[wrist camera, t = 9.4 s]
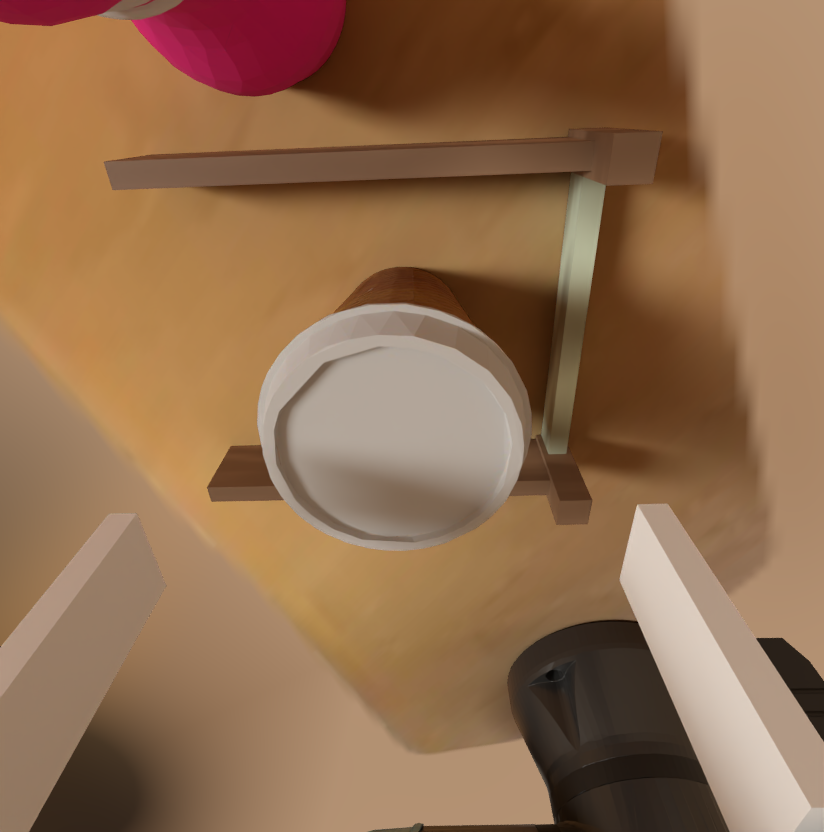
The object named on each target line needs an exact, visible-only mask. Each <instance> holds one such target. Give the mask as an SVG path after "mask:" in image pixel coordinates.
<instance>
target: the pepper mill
mask: <svg viewBox="0 0 824 832" xmlns="http://www.w3.org/2000/svg"><path fill="white" fill-rule="evenodd" d="M345 12H346V0H0V21H1V22H5V23H9V24H23V25H42V26H53V25H57V24H62V23H66V22H70V21H74V20H78V19H82V18H86V17H90V16H95V15H98V16H101V17H106V18H113V19H122V20H132V22H133V23H134V25H135V26H136V27H137V29H138V30H139V32H140V33H141V34H142V35H143V36H144V37H145V38H146V39H147V40H148V41H149V43H150V44H151V45H152V46H153V47H154V48H155V49H156V50H157V51H158V52H160V53H161V54H162V55H163V56H164V57H165V58H166V59H167V60H168V61H169V62H170V63H171V64H172V65H173V66H174V67H175V68H177V69H179V70H180V71H182V72H183V73H185V74H187V75H188V76H190V77H191V78H193V79H194V80H196V81H199V82H201V83H203V84H206V85H208V86H210V87H213V88H215V89H218V90H220V91H223V92H227V93H231V94H234V95H239V96H262V95H270V94H273V93H276V92H279V91H282V90H285V89H287V88H289V87H291V86H293V85H294V84H296V83H297V82H299V81H302V80H304V79H306V78H307V77H309V76H311V75H312V74H313V73H315V72H316V71H317V70H318V69H319V68H320V67H321V66H322V65H323V64H324V63H325V62H326V61H327V59H328V58H329V57H330V55H331V53H332V52H333V50H334V48H335V47H336V44H337V42H338V39H339V37H340V34H341V31H342V28H343V23H344V17H345Z"/></svg>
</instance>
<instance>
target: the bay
mask: <svg viewBox="0 0 824 832" xmlns="http://www.w3.org/2000/svg"><path fill="white" fill-rule="evenodd" d="M662 133H663V131H649V130H634V129H619V128H585V129H569V134H568V137H557V138H534V139H510V140H487V141H463V142H440V143H416V144H392V145H369V146H345V147H322V148H298V149H275V150H251V151H228V152H204V153H181V154H157V155H146V156H140V157H133V158H126V159H119V160H112V161H106V162H104V164H105V167H106V170H107V174H108V177H109V180H110V183H111V186H112V189H113V190H127V189H152V188H177V187H202V186H226V185H251V184H276V183H301V182H326V181H351V180H375V179H400V178H425V177H450V176H475V175H500V174H524V173H549V172H571V177H570V185H569V194H568V203H567V212H566V221H565V230H564V238H563V247H562V256H561V265H560V274H559V283H558V291H557V300H556V309H555V318H554V327H553V336H552V344H551V353H550V362H549V371H548V380H547V389H546V397H545V406H544V415H543V424H542V433H541V435H536V439H530V444H529V448H528V453H527V456H526V458H525V460H524V463H523V465H522V468H521V470H520V473H519V476H518V480H517V482H516V483H515V485H514V487H513V489H512V491H511V492H510V494H509V496H524V495H547V498H548V501H549V504H550V507H551V510H552V513H553V516H554V519H555V522H556V525H570V524H588V520H589V515H590V510H591V505H592V498H591V496H590V494H589V492H588V489H587V487H586V485H585V483H584V480H583V478H582V476H581V474H580V471H579V469H578V467H577V465H576V462H575V460H574V458H573V456H572V453H571V451H570V449H569V447H568V439H569V432H570V425H571V418H572V412H573V405H574V398H575V391H576V385H577V378H578V371H579V364H580V357H581V351H582V344H583V337H584V330H585V323H586V317H587V310H588V303H589V296H590V289H591V283H592V276H593V269H594V262H595V256H596V249H597V242H598V235H599V228H600V222H601V215H602V208H603V201H604V194H605V188H606V186H611V185H637V184H653V180H654V175H655V170H656V165H657V159H658V154H659V149H660V144H661V138H662ZM207 489H208V492H209V495H210V498H211V501H212V502H214V501H266V500H284V499H283V498H282V497H281V495H280V494H279V492H278V490H277V489H276V487H275V485H274V484H273V482H272V480H271V478H270V475H269V472H268V469H267V466H266V463H265V460H264V457H263V448H262V446H231V447H230V449H229V450H228V452H227V454H226V455H225V457H224V459H223V461H222V462H221V464H220V466H219V468H218V469H217V471H216V473H215V475H214V476H213V478H212V480H211V482H210V483H209V485H208V487H207Z"/></svg>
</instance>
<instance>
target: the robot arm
mask: <svg viewBox="0 0 824 832" xmlns="http://www.w3.org/2000/svg"><path fill="white" fill-rule="evenodd" d="M619 580H620V582H621V585H622V587H623V589H624V591H625V594H626V596H627V598H628V601H629V603H630V605H631V607H632V610H633V612H634V614H635V617H636V619H637V621H638V623H639V624H637V623H630V622H597V623H589V624H583V625H579V626H574V627H571V628H567V629H564V630H561V631H558V632H556V633H553V634H551V635H549V636H547V637H545V638H543V639H541V640H539V641H537V642H536V643H534V644H533V645H531V646H530V647H529V648H527V649H526V650H525V651H524V652H523V653H522V654H521V655H520V656H519V657H518V658H517V660H516V661H515V662H514V664H513V666H512V667H511V670H510V672H509V675H508V691H509V698H510V704H511V710H512V714H513V717H514V719H515V722H516V724H517V726H518V728H519V730H520V732H521V734H522V736H523V738H524V741H525V743H526V745H527V746H528V749H529V751H530V753H531V755H532V757H533V759H534V761H535V763H536V766H537V768H538V770H539V772H540V774H541V776H542V778H543V780H544V782H545V784H546V786H547V789H548V793H549V798H550V803H551V808H552V813H553V818H554V824H546V825H534V824H524V825H469V826H468V825H463V826H424V825H423V824H421V823H417V824H415V825H414V826H413V827H407V828H394V829H382V830H373V831H369V832H824V681H823V679H822V678H821V676H820V675H819V674H818V672H817V671H816V670H815V668H814V667H813V665H812V664H811V663H810V661H809V660H807V659H806V658H805V657H804V656H803V655H802V654H800V653H799V652H798V651H797V650H795V649H794V648H793V647H792V646H791V645H790V644H789V643H787V642H786V641H785V640H784V639H783V638H755V636H754V635H753V633H752V632H751V630H750V629H749V627H748V626H747V624H746V623H745V621H744V619H743V618H742V616H741V615H740V613H739V612H738V610H737V609H736V607H735V606H734V604H733V603H732V601H731V600H730V598H729V597H728V595H727V594H726V592H725V590H724V589H723V587H722V586H721V584H720V583H719V581H718V580H717V578H716V577H715V575H714V574H713V572H712V571H711V569H710V568H709V566H708V565H707V563H706V561H705V560H704V558H703V557H702V555H701V554H700V552H699V551H698V549H697V548H696V546H695V545H694V543H693V542H692V540H691V539H690V537H689V536H688V534H687V532H686V531H685V529H684V528H683V526H682V525H681V523H680V522H679V520H678V519H677V517H676V516H675V514H674V513H673V511H672V510H671V508H670V507H669V505H668V504H637V508H636V512H635V517H634V521H633V525H632V529H631V533H630V537H629V542H628V546H627V550H626V554H625V558H624V563H623V567H622V571H621V575H620V579H619ZM165 587H166V584H165V582H164V579H163V576H162V574H161V571H160V569H159V566H158V564H157V561H156V559H155V557H154V554H153V552H152V549H151V547H150V544H149V542H148V539H147V537H146V534H145V532H144V529H143V527H142V525H141V522H140V519H139V517H138V514H137V513H125V514H108V516H107V517H106V518H105V519H104V521H103V522H102V523H101V524H100V525H99V527H98V528H97V529H96V530H95V532H94V533H93V534H92V536H91V537H90V538H89V539H88V540H87V541H86V543H85V544H84V545H83V546H82V548H81V549H80V550H79V551H78V553H77V554H76V555H75V556H74V557H73V559H72V560H71V561H70V563H69V564H68V565H67V566H66V567H65V569H64V570H63V571H62V572H61V573H60V575H59V576H58V577H57V578H56V580H55V581H54V582H53V583H52V585H51V586H50V587H49V588H48V590H47V591H46V592H45V593H44V594H43V596H42V597H41V598H40V599H39V600H38V602H37V603H36V604H35V606H34V607H33V608H32V609H31V610H30V612H29V613H28V614H27V615H26V617H25V618H24V619H23V620H22V622H21V623H20V624H19V625H18V627H17V628H16V629H15V630H14V631H13V632H12V634H11V635H10V636H9V637H8V639H7V640H6V641H5V642H4V644H3V645H2V646H0V832H29V830H30V828H31V827H32V825H33V823H34V821H35V820H36V818H37V816H38V814H39V812H40V810H41V809H42V807H43V805H44V803H45V802H46V799H47V798H48V796H49V794H50V793H51V791H52V789H53V787H54V785H55V784H56V782H57V780H58V778H59V776H60V775H61V773H62V771H63V769H64V768H65V766H66V764H67V762H68V760H69V759H70V757H71V755H72V753H73V752H74V750H75V748H76V746H77V744H78V743H79V741H80V739H81V737H82V735H83V734H84V732H85V730H86V728H87V726H88V724H89V723H90V721H91V719H92V717H93V716H94V714H95V712H96V710H97V709H98V707H99V705H100V703H101V701H102V699H103V698H104V696H105V694H106V692H107V691H108V689H109V687H110V685H111V684H112V681H113V680H114V678H115V676H116V675H117V673H118V671H119V669H120V667H121V666H122V664H123V662H124V660H125V659H126V657H127V655H128V653H129V651H130V650H131V648H132V646H133V644H134V642H135V641H136V639H137V637H138V635H139V633H140V632H141V630H142V628H143V626H144V625H145V623H146V621H147V619H148V617H149V616H150V614H151V612H152V610H153V608H154V607H155V605H156V603H157V601H158V600H159V598H160V596H161V594H162V592H163V591H164V589H165Z"/></svg>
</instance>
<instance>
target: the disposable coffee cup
mask: <svg viewBox="0 0 824 832" xmlns="http://www.w3.org/2000/svg"><path fill="white" fill-rule="evenodd" d="M257 426H258V431H259V436H260V441H261V446H262V448H263V457H264V460H265V463H266V466H267V469H268V472H269V475H270V478H271V480H272V482H273V484H274V485H275V487H276V489H277V490H278V492H279V494H280V495H281V497H282V498H283V499H284V500H285V501H286V503H287V504H288V505H289V506H290V507H291V508H292V509H293V510H294V511H295V512H296V513H297V514H298V515H299V516H300V517H301V518H303V519H304V520H305V521H307V522H308V523H309V524H311V525H312V526H313V527H315V528H317V529H318V530H320V531H322V532H324V533H325V534H327V535H330V536H332V537H334V538H337V539H339V540H342V541H344V542H347V543H349V544H354V545H358V546H362V547H366V548H370V549H379V550H398V551H406V550H415V549H423V548H427V547H432V546H436V545H440V544H444V543H446V542H448V541H451V540H453V539H455V538H457V537H459V536H461V535H463V534H465V533H467V532H469V531H472V530H474V529H476V528H477V527H479V526H480V525H481V524H482V523H484V522H485V521H486V520H488V519H489V518H490V517H491V516H492V515H493V514H494V513H495V512H496V511H497V510H498V509H499V508H500V507H501V506H502V505H503V504H504V502H505V501H506V499H507V498H508V496H509V494H510V492H511V491H512V489H513V487H514V485H515V483H516V482H517V480H518V476H519V473H520V470H521V468H522V465H523V463H524V460H525V458H526V456H527V453H528V448H529V444H530V439H531V435H532V413H531V408H530V403H529V398H528V393H527V389H526V388H525V386H524V384H523V382H522V380H521V378H520V376H519V374H518V372H517V370H516V368H515V366H514V364H513V362H512V361H511V360H510V359H509V358H508V356H507V355H506V354H505V353H504V352H503V351H502V349H501V348H500V347H499V346H498V345H497V344H496V343H495V342H494V341H493V340H492V339H490V338H489V337H488V336H487V335H486V334H485V333H483V332H482V331H481V330H480V329H479V328H477V327H475V326H474V324H473V323H472V321H471V320H470V318H469V317H468V315H467V314H466V313H465V311H464V309H463V308H462V307H461V305H460V304H459V302H458V301H457V299H456V298H455V296H454V294H453V293H452V291H451V290H450V289H449V288H448V287H447V286H446V285H445V284H444V283H443V282H442V281H441V280H440V279H439V278H437V277H436V276H434V275H432V274H430V273H428V272H426V271H423V270H420V269H416V268H413V267H395V268H389V269H385V270H382V271H380V272H377V273H375V274H373V275H372V276H370V277H369V278H368V279H366V280H365V281H363V282H362V283H361V284H360V285H359V286H358V287H357V288H356V290H355V291H354V292H353V293H352V294H351V295H350V296H349V297H348V298H347V299H346V300H345V301H344V303H343V304H342V305H341V306H340V307H339V308H338V309H337V310H336V311H335V312H334V313H333V314H331V315H328V316H326V317H324V318H323V319H321V320H320V321H318V322H316V323H315V324H313V325H312V326H310V327H309V328H307V329H306V330H304V331H303V332H301V333H299V334H298V335H297V336H296V337H295V338H294V339H293V340H292V341H291V342H290V343H289V344H288V345H287V347H286V348H285V349H284V350H283V351H282V352H281V353H280V354H279V356H278V357H277V359H276V360H275V362H274V363H273V365H272V367H271V368H270V370H269V371H268V373H267V376H266V378H265V380H264V383H263V385H262V388H261V393H260V398H259V402H258V420H257Z"/></svg>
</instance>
